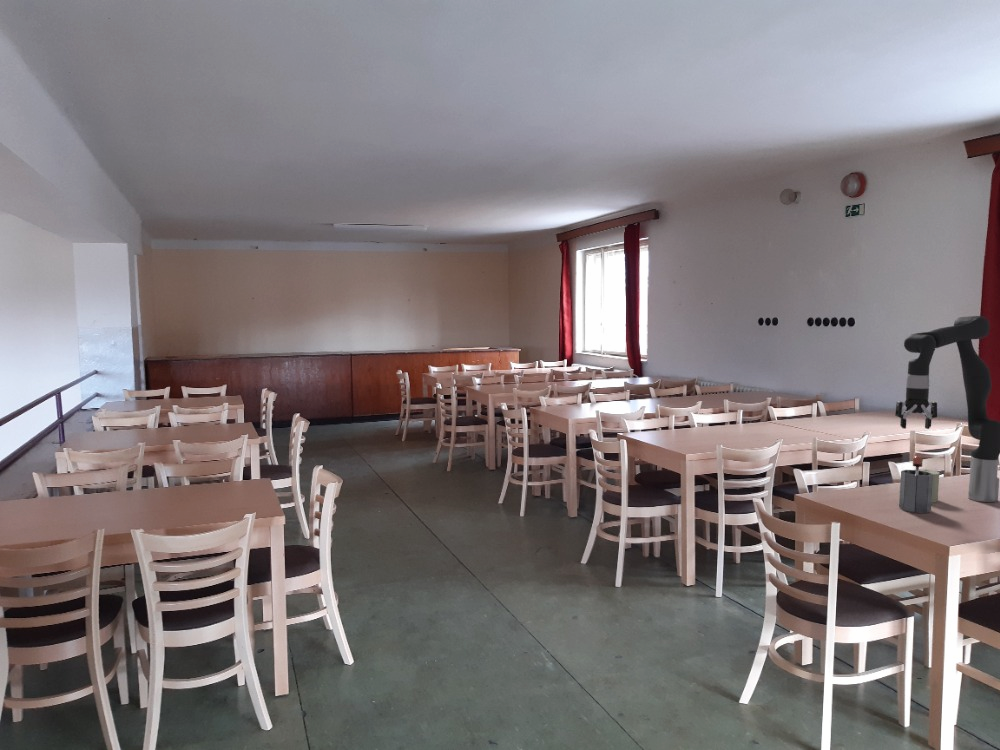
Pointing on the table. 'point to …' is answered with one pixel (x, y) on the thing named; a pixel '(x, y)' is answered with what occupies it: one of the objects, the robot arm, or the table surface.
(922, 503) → the grey faceted pot
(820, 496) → the table surface
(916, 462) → the plunger
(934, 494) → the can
